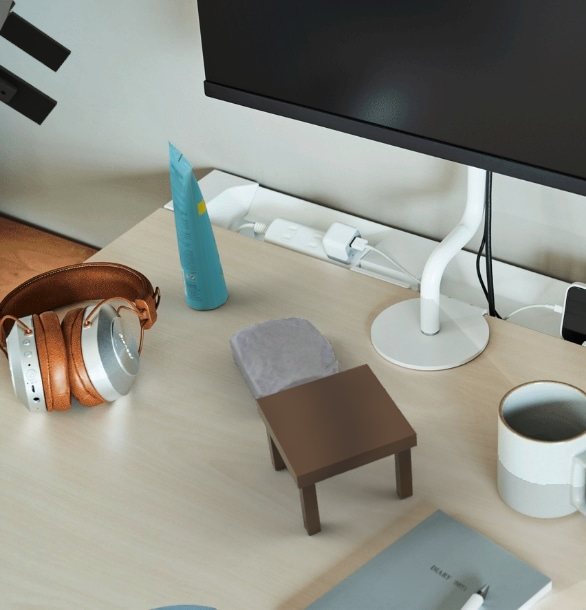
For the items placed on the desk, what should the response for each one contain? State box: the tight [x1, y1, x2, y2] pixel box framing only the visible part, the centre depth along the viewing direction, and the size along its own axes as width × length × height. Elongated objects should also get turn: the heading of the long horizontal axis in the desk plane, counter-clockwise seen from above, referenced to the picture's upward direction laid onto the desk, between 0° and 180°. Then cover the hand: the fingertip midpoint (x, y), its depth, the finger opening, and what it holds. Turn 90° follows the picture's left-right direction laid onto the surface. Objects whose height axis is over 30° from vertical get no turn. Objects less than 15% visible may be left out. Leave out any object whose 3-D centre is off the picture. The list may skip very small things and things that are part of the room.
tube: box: [168, 140, 229, 311], centre depth 105 cm, size 7×5×19 cm, turn 39°
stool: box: [255, 363, 418, 537], centre depth 85 cm, size 11×11×8 cm
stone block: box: [229, 316, 340, 400], centre depth 98 cm, size 12×5×10 cm
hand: (57, 86), depth 92 cm, fingers open, 13 cm apart
